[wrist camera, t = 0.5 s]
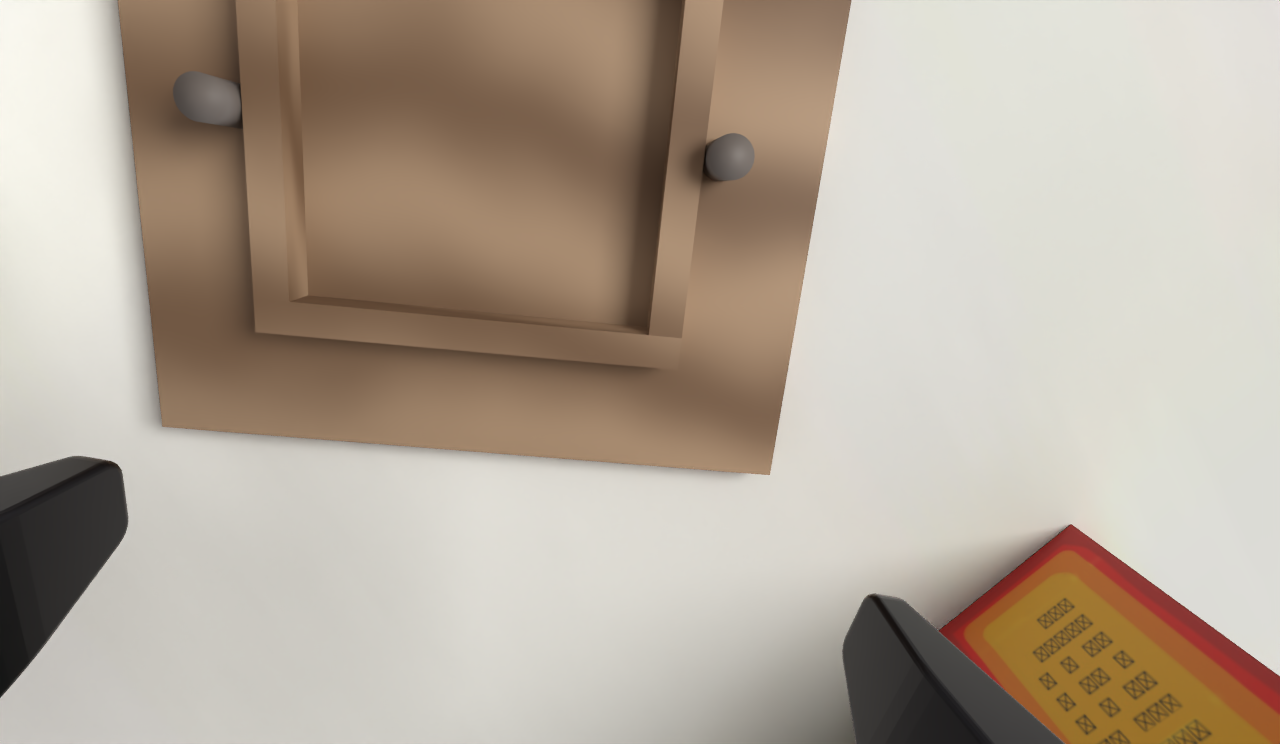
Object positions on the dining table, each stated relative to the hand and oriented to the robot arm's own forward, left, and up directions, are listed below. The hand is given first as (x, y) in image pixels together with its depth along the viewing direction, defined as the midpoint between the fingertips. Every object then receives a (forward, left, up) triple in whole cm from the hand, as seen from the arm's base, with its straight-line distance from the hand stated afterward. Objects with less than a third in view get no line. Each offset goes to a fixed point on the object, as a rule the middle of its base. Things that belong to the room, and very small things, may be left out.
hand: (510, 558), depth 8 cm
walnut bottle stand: (+5, +4, -14) cm, 15 cm away
